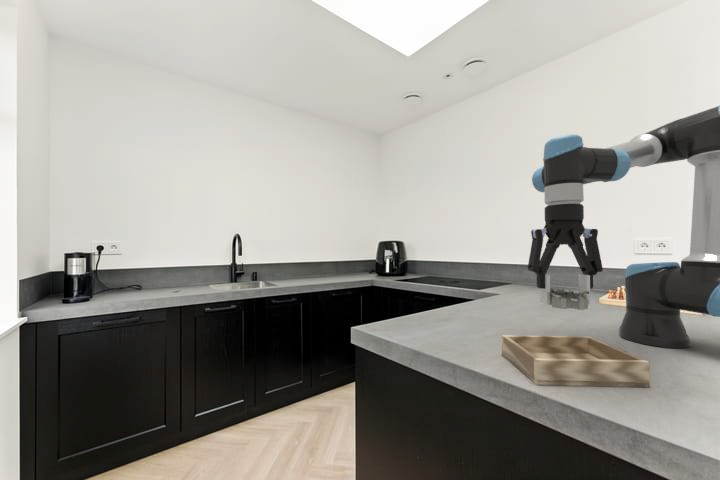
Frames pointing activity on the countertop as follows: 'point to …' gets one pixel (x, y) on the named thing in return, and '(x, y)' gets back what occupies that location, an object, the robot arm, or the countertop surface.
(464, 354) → the countertop surface
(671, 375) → the countertop surface
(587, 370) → the tray
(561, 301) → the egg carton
